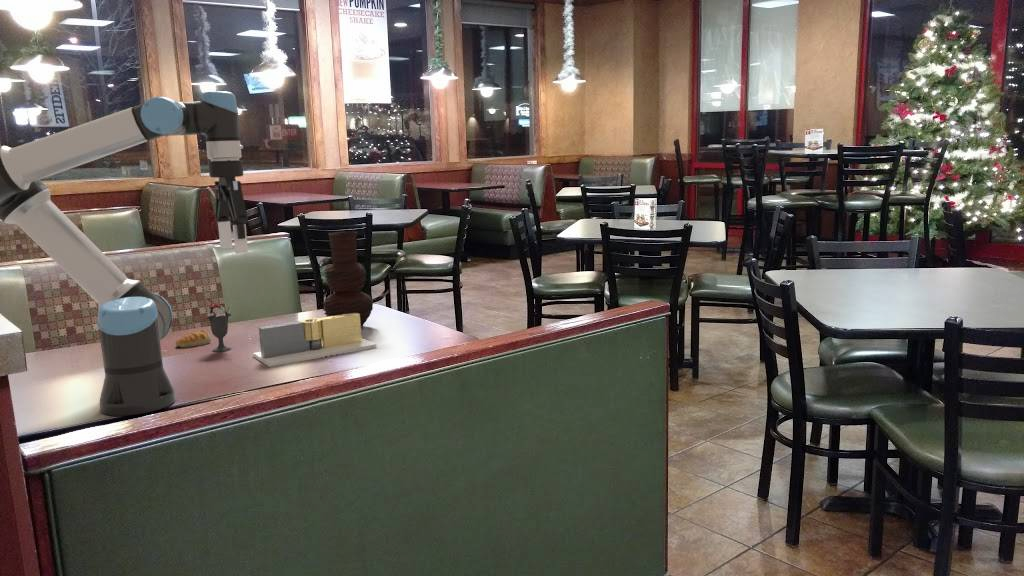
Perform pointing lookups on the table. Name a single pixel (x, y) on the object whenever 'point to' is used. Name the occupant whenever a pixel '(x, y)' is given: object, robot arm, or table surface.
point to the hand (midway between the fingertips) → (233, 250)
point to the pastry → (194, 339)
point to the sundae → (218, 324)
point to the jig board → (315, 353)
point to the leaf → (334, 329)
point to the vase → (346, 279)
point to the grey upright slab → (285, 340)
